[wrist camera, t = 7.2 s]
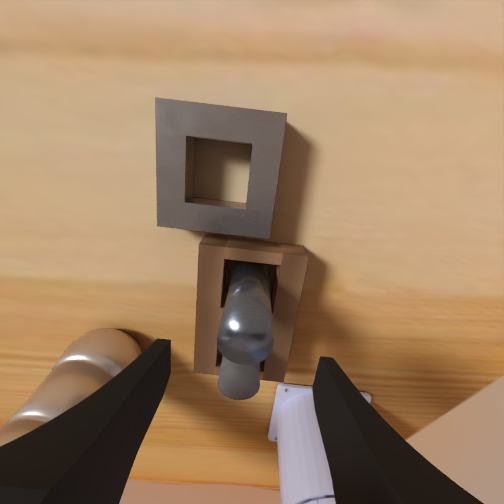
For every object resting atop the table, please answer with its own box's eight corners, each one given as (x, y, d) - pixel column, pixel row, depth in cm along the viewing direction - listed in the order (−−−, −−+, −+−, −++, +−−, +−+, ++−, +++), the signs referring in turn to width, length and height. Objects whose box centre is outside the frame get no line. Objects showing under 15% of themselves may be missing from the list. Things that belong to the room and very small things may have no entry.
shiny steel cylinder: (269, 255, 21) (275, 319, 13) (267, 287, 22) (272, 366, 14) (233, 254, 22) (216, 317, 13) (233, 286, 23) (217, 363, 14)
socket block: (283, 119, 18) (287, 113, 16) (268, 229, 21) (269, 239, 18) (169, 105, 18) (155, 97, 15) (168, 218, 21) (157, 226, 18)
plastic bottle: (104, 306, 24) (-509, 880, 5) (165, 347, 25) (-125, 920, 6) (71, 348, 25) (-481, 896, 6) (129, 384, 27) (-186, 925, 8)
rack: (303, 245, 21) (319, 277, 15) (281, 361, 25) (287, 419, 20) (205, 234, 21) (185, 262, 15) (199, 352, 25) (182, 408, 19)
